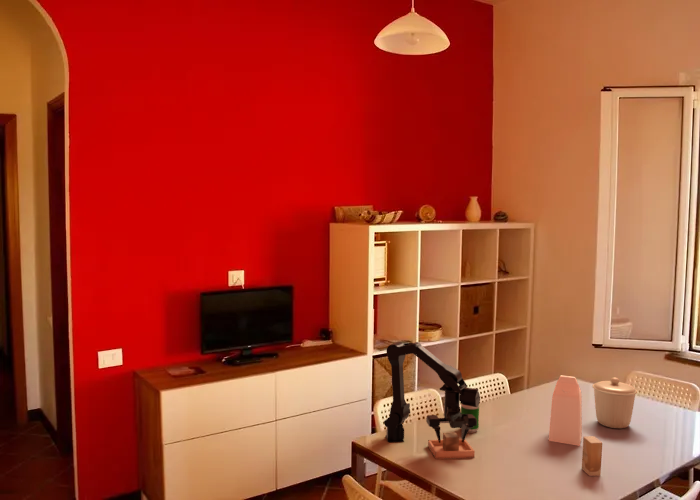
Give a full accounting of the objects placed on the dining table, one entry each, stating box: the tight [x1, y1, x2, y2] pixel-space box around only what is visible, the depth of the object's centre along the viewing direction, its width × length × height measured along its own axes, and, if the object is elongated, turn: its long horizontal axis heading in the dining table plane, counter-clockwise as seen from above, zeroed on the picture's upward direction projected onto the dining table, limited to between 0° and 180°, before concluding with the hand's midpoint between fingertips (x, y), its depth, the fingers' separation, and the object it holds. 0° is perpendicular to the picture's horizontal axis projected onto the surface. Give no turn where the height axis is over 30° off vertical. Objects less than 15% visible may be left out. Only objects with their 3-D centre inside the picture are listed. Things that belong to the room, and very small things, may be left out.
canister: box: [591, 376, 638, 429], centre depth 263 cm, size 18×18×21 cm
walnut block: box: [442, 432, 460, 451], centre depth 230 cm, size 5×5×6 cm
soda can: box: [460, 403, 480, 434], centre depth 254 cm, size 8×8×12 cm
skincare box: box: [581, 435, 603, 477], centre depth 213 cm, size 6×4×12 cm
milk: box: [548, 375, 583, 447], centre depth 245 cm, size 12×12×26 cm
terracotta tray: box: [427, 438, 476, 460], centre depth 231 cm, size 15×12×2 cm
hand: (451, 442), depth 230 cm, fingers open, 9 cm apart
